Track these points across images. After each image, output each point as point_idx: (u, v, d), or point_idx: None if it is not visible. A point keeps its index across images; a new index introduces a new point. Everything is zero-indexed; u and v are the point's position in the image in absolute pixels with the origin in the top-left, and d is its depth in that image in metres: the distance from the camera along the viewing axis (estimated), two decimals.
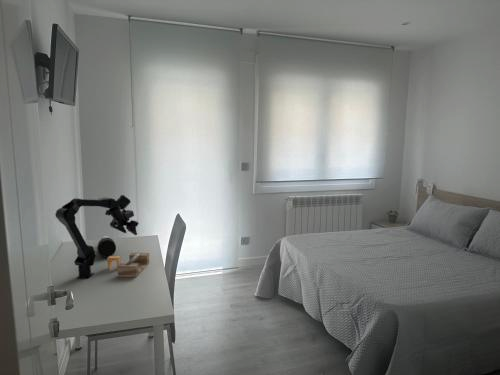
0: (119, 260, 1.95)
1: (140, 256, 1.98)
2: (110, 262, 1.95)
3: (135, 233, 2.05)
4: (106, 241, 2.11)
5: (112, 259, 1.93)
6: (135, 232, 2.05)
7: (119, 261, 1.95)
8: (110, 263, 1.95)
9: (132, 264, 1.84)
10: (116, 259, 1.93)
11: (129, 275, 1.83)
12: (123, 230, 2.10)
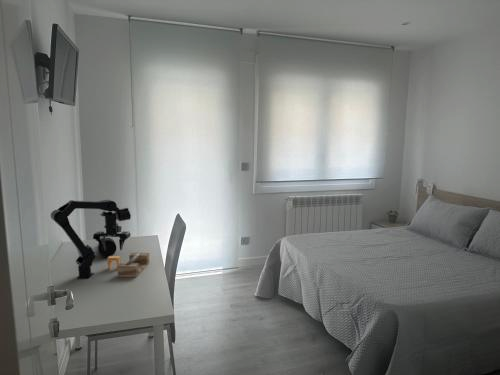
0: (119, 260, 1.95)
1: (140, 256, 1.98)
2: (110, 262, 1.95)
3: (121, 247, 1.93)
4: (106, 241, 2.11)
5: (112, 259, 1.93)
6: (122, 246, 1.93)
7: (119, 261, 1.95)
8: (110, 263, 1.95)
9: (132, 264, 1.84)
10: (116, 259, 1.93)
11: (129, 275, 1.83)
12: (104, 246, 1.93)
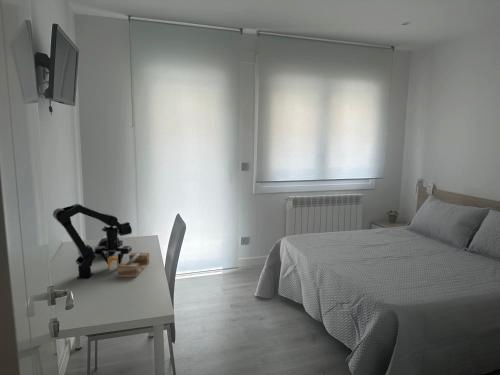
0: None
1: (140, 256, 1.98)
2: (110, 262, 1.95)
3: (120, 262, 1.95)
4: None
5: (112, 259, 1.93)
6: (121, 260, 1.95)
7: None
8: (110, 263, 1.95)
9: (132, 264, 1.84)
10: (116, 259, 1.93)
11: (129, 275, 1.83)
12: None
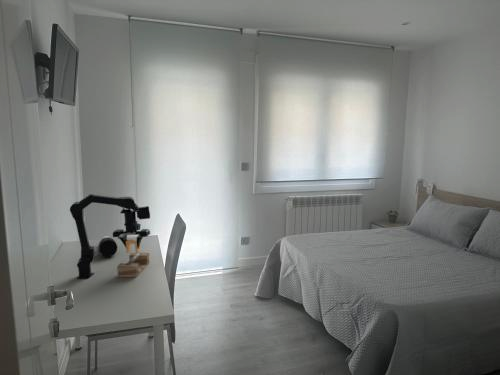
0: None
1: (140, 256, 1.98)
2: (128, 245, 1.91)
3: (139, 245, 1.91)
4: (107, 241, 2.11)
5: (130, 242, 1.89)
6: (139, 244, 1.91)
7: None
8: (128, 246, 1.91)
9: (132, 264, 1.84)
10: (135, 242, 1.89)
11: (129, 275, 1.83)
12: None
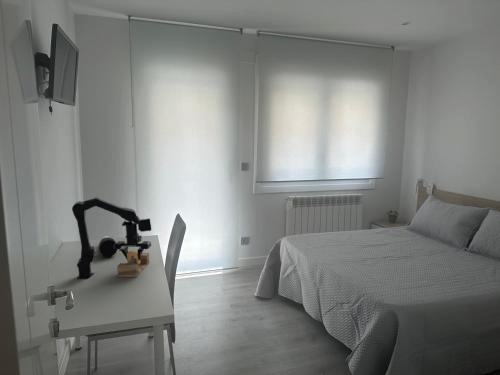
0: None
1: None
2: (129, 257, 1.92)
3: (140, 257, 1.91)
4: (108, 241, 2.11)
5: (132, 254, 1.90)
6: (140, 256, 1.92)
7: None
8: (129, 258, 1.92)
9: (132, 264, 1.84)
10: (136, 254, 1.90)
11: (129, 275, 1.83)
12: None
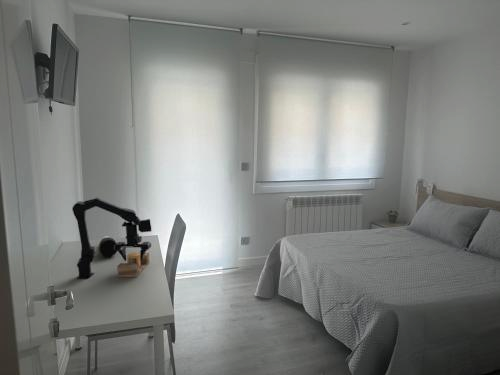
0: (139, 258, 1.92)
1: (140, 256, 1.98)
2: None
3: (142, 258, 1.91)
4: (108, 241, 2.11)
5: (132, 257, 1.90)
6: (143, 256, 1.92)
7: (139, 259, 1.92)
8: None
9: (132, 264, 1.84)
10: (136, 257, 1.90)
11: (129, 275, 1.83)
12: (125, 256, 1.92)
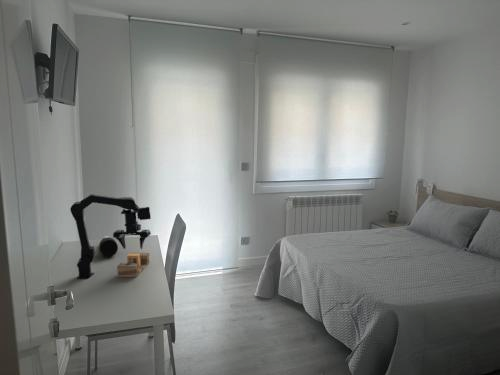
0: (139, 258, 1.92)
1: (140, 256, 1.98)
2: None
3: (142, 246, 1.90)
4: (108, 241, 2.11)
5: (132, 257, 1.90)
6: (142, 244, 1.91)
7: (139, 259, 1.92)
8: None
9: (132, 264, 1.84)
10: (136, 257, 1.90)
11: (129, 275, 1.83)
12: (124, 244, 1.91)
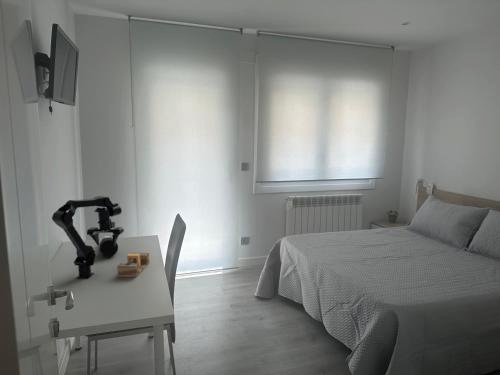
0: (139, 258, 1.92)
1: (140, 256, 1.98)
2: None
3: (115, 243, 1.96)
4: (108, 241, 2.11)
5: (132, 257, 1.90)
6: (115, 241, 1.96)
7: (139, 259, 1.92)
8: None
9: (132, 264, 1.84)
10: (136, 257, 1.90)
11: (129, 275, 1.83)
12: (98, 241, 1.96)
